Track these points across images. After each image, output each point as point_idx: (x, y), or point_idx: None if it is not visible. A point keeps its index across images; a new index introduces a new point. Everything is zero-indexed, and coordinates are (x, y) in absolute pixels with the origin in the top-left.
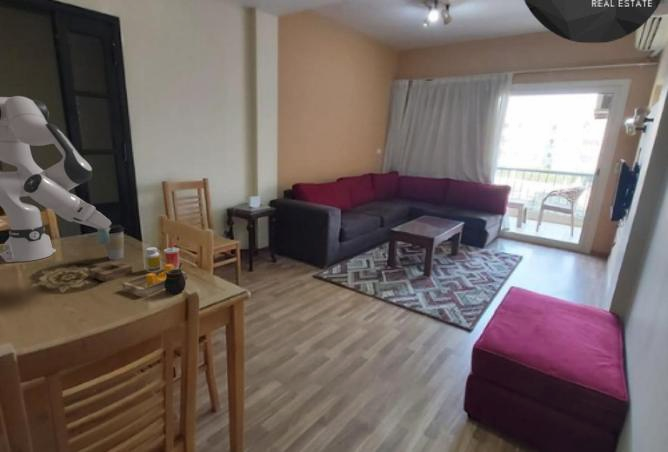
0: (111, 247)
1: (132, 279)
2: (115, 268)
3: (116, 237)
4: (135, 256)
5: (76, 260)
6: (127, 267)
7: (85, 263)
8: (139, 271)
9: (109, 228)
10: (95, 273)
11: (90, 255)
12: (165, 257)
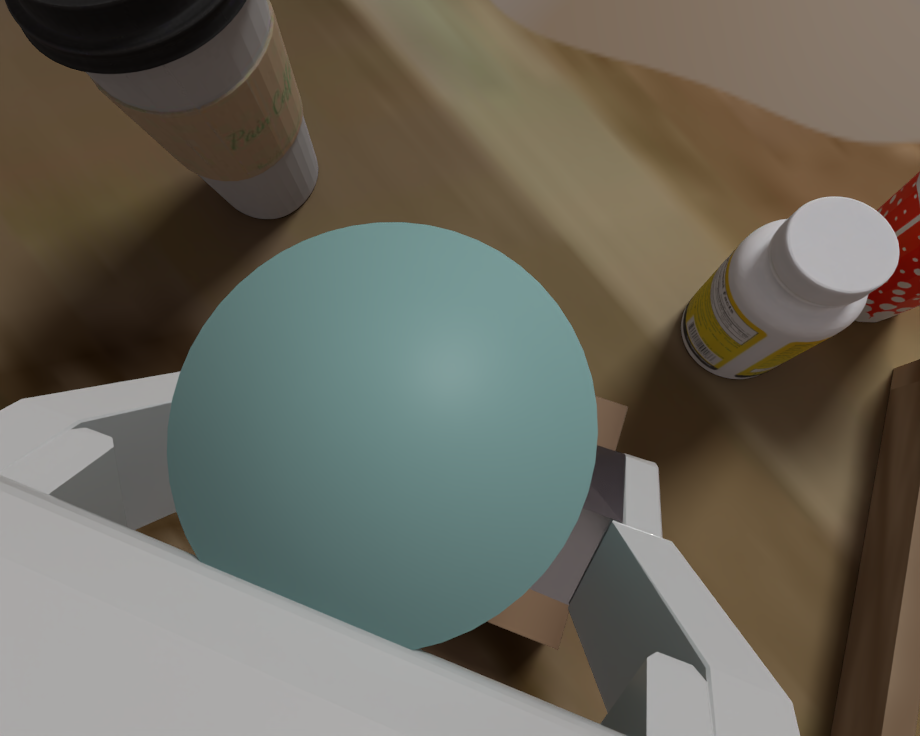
0: (240, 162)
1: (891, 705)
2: None
3: (244, 63)
4: (392, 126)
5: (25, 290)
6: (615, 443)
7: (129, 327)
8: (642, 379)
9: (656, 486)
10: None
11: (60, 183)
12: (914, 265)
